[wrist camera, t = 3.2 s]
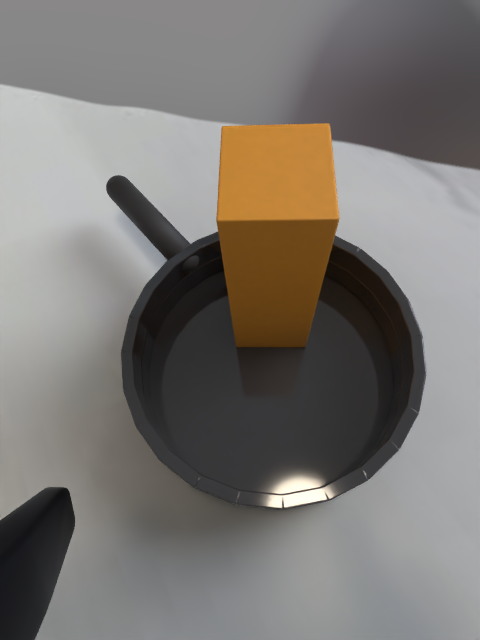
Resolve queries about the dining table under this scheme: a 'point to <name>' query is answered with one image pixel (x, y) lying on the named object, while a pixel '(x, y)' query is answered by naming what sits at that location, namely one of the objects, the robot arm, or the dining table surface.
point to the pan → (273, 382)
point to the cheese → (275, 228)
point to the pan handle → (149, 220)
